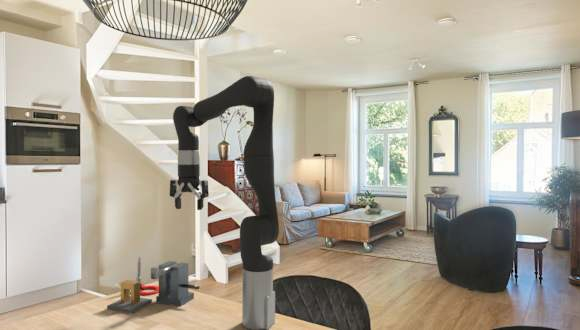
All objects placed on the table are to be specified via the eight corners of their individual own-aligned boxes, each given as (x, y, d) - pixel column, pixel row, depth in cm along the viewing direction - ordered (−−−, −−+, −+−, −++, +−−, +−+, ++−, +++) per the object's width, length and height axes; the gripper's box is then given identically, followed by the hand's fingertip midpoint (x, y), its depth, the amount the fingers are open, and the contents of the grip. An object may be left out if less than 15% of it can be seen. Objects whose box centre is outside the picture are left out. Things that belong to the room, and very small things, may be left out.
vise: (206, 300, 144) (206, 259, 144) (179, 317, 129) (179, 271, 129) (170, 294, 149) (170, 255, 149) (140, 310, 134) (140, 266, 134)
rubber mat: (151, 302, 141) (151, 299, 141) (131, 313, 131) (131, 309, 131) (128, 299, 144) (128, 295, 144) (107, 309, 135) (107, 305, 135)
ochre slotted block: (139, 302, 138) (139, 281, 138) (133, 305, 135) (133, 284, 135) (127, 300, 140) (127, 279, 140) (120, 303, 137) (120, 282, 137)
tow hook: (164, 289, 156) (142, 287, 157) (165, 256, 155) (143, 254, 157) (153, 297, 147) (129, 294, 149) (154, 262, 147) (131, 259, 148)
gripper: (212, 163, 145) (212, 208, 145) (177, 163, 149) (177, 207, 150) (201, 163, 138) (201, 211, 138) (165, 163, 142) (165, 209, 143)
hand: (189, 209), depth 144 cm, fingers open, 8 cm apart
